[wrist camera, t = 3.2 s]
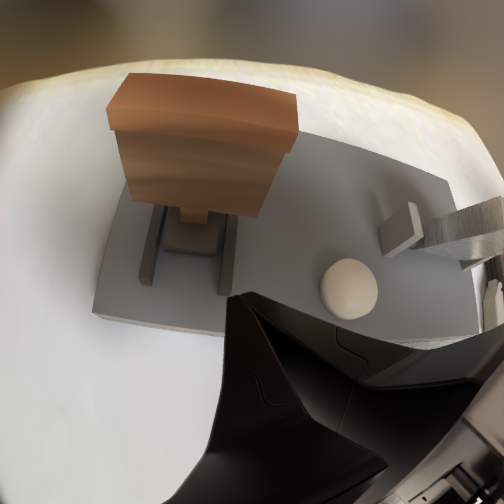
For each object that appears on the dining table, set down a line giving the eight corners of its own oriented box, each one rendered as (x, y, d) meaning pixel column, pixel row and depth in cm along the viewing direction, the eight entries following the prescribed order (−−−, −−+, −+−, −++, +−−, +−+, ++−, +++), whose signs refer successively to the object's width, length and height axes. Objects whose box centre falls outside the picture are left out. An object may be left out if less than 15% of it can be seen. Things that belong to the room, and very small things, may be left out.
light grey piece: (460, 266, 20) (559, 250, 10) (396, 254, 19) (520, 226, 8) (459, 239, 20) (555, 215, 10) (396, 222, 19) (512, 178, 9)
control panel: (463, 338, 20) (509, 324, 15) (102, 318, 15) (66, 296, 10) (436, 190, 26) (467, 162, 21) (156, 125, 22) (154, 72, 17)
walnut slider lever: (244, 261, 16) (300, 153, 8) (135, 246, 15) (95, 127, 7) (249, 201, 18) (294, 82, 10) (151, 188, 17) (137, 61, 9)
